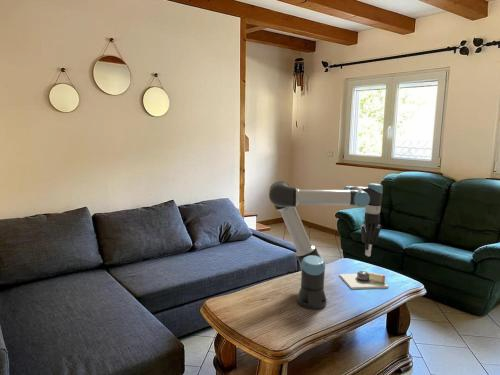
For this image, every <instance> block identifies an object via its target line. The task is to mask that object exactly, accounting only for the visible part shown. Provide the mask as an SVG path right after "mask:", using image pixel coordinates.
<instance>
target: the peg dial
mask: <svg viewBox="0 0 500 375" xmlns="http://www.w3.org/2000/svg"><path fill="white" fill-rule="evenodd" d="M356 274H357V279H358V280H360V281H374V282H380V283H385V282H386V275H385V274H381V273H375V272H368V271H365V270H360V271H357V273H356Z"/></svg>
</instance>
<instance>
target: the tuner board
mask: <svg viewBox="0 0 500 375" xmlns="http://www.w3.org/2000/svg"><path fill="white" fill-rule="evenodd" d="M338 275H339V277H340V278H341V280H342V281H343V282H344V283H345V284H346V285H347V286H348V288H350V290H365V289H366V290H368V289H369V290H370V289H373V290H374V289H389V287H390V286H389V285H388V284H387V282H386V281H385V283H380V282H374V281H360V280H358V279H357V273H339V274H338Z"/></svg>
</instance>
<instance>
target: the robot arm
mask: <svg viewBox="0 0 500 375" xmlns="http://www.w3.org/2000/svg"><path fill="white" fill-rule="evenodd" d="M383 187H384V186H383V185H382V184H380V183H373V182H372V183H368V184H367V186H357V185H345V187H344V188H343V189H299V188H297V187H292V186H291V185H290V184H289V183H288V182H286V181H283V180H278V181H275V182H274V183H272V184H271V185H270V187H269V189H268V190H269V193H268V198H269V201H270V202H271V203H272V205H274V208H275V210H276V211H277V212H280V215H281V218H282V219H283V222H284V224H285V227H286V229H287V231H288V233H289V236H290V237H291V240H292V242H293V245H294V246H295V249H296V251H295V256H296V259H297V261H298V262H299V265H300V273H301V278H300V289H299V291H298V294H297V296H296V303H297V304H298V305H299V306H300V307H302V308H305V309H308V310H320V309H324V308H325V307H326V306H327V296H326V293H325V289H324V288H325V270H326V263H325V260H324V258H322V257H321V255H320V254H319V251H318V249H317V247H316V246H315V245H314V244H312V243H311V240H310V237H309V236H308V234H307V231H306V229H305V226H304V224H303V222H302V219H301V217H300V215H299V213H298V211H297V208H296V207H297V206H300V205H301V206H302V205H303V206H304V205H305V206H306V205H307V206H308V205H309V206H312V205H313V206H317V205H318V206H356V207H360V208H364V209H365V210H364V217H363V218H364V221H363V224H362V225H361V224H360V225H359V229H360V236H361V242H362V243H364V250H365V251H364V255H365V256H367V257H371V255H372V250H373V245H375V244H376V243H377V242H378V238H379V235H380V232H381V230H382V228H383V225H381V224H380V222H379V221H380V216H381V214H380V213H381V208H382V198H383V189H384V188H383Z"/></svg>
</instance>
